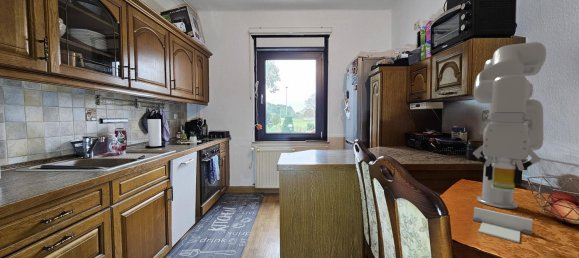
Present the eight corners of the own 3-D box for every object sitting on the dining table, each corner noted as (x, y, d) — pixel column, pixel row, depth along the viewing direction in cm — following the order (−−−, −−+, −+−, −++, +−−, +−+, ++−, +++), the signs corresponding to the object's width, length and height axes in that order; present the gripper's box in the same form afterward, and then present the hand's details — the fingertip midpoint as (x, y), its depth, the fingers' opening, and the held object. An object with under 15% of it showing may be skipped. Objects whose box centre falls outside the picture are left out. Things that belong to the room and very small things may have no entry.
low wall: (474, 218, 86) (475, 206, 86) (531, 231, 76) (532, 218, 76) (472, 220, 84) (473, 208, 84) (531, 234, 74) (532, 221, 74)
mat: (482, 223, 82) (482, 222, 82) (520, 232, 76) (520, 231, 76) (478, 232, 75) (478, 230, 75) (519, 242, 69) (519, 241, 69)
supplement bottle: (519, 192, 72) (521, 158, 71) (497, 190, 73) (499, 156, 72) (507, 187, 77) (509, 155, 76) (486, 186, 78) (488, 154, 78)
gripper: (548, 120, 71) (543, 185, 72) (472, 118, 82) (469, 174, 83) (550, 120, 65) (544, 190, 66) (468, 118, 77) (465, 178, 78)
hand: (502, 180), depth 75 cm, fingers closed on supplement bottle, 5 cm apart
